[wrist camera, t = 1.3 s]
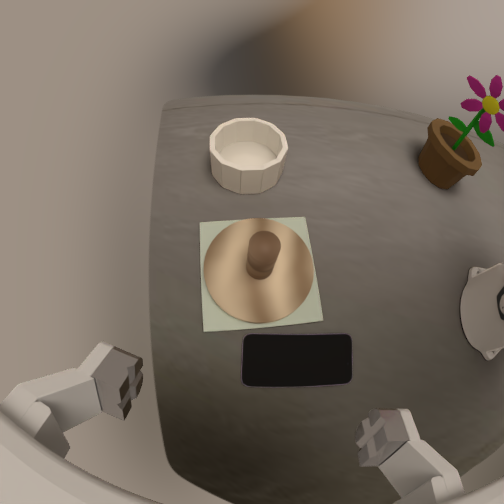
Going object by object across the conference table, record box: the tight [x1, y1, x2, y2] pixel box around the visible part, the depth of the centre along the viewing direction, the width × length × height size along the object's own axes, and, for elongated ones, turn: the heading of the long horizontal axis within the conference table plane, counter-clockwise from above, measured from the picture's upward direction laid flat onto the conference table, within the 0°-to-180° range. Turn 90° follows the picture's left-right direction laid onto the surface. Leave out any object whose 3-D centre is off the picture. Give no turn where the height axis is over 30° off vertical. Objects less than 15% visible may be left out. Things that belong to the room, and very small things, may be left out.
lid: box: [204, 218, 314, 324], centre depth 35 cm, size 15×15×8 cm
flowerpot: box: [419, 75, 504, 189], centre depth 37 cm, size 14×14×30 cm
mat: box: [200, 217, 323, 332], centre depth 39 cm, size 16×16×1 cm
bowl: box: [210, 118, 288, 194], centre depth 43 cm, size 12×12×6 cm
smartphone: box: [241, 333, 353, 388], centre depth 34 cm, size 7×1×15 cm
